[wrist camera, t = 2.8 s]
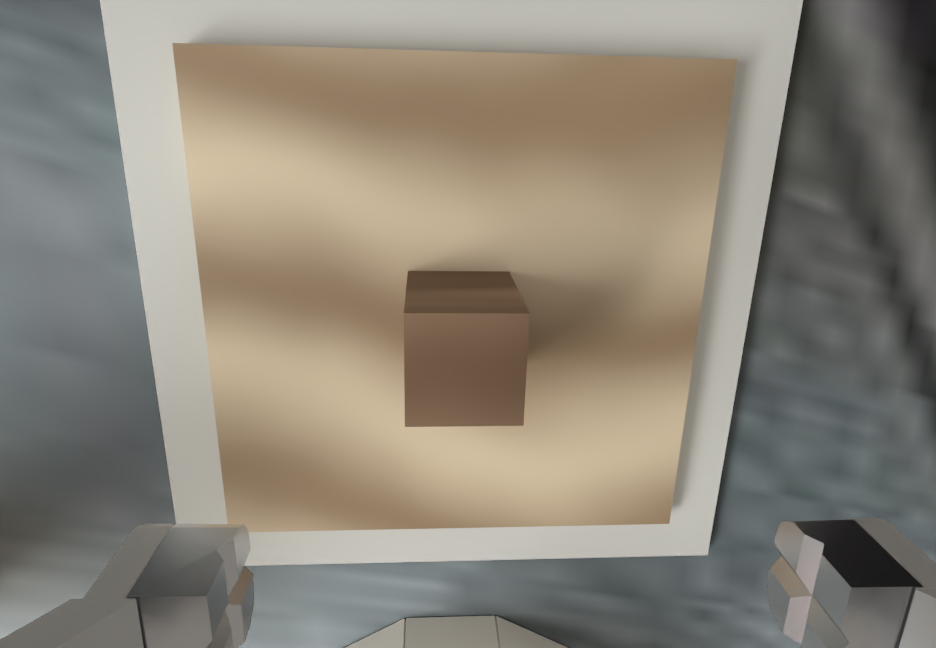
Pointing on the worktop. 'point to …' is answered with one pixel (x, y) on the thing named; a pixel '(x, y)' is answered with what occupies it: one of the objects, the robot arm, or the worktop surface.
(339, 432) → the lid
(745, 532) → the worktop surface
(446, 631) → the bowl
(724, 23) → the mat
